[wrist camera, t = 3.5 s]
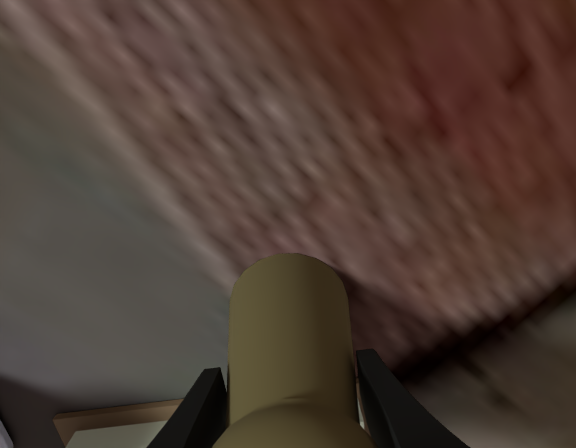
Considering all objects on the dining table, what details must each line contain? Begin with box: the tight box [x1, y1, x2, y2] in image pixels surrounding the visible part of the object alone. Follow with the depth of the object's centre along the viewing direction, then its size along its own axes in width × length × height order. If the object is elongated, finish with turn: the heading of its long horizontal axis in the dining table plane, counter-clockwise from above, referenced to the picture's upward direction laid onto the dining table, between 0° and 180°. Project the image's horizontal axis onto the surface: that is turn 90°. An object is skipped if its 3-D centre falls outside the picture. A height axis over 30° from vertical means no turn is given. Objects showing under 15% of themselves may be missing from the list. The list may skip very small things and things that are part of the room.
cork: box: [212, 253, 379, 448], centre depth 12 cm, size 6×6×11 cm
